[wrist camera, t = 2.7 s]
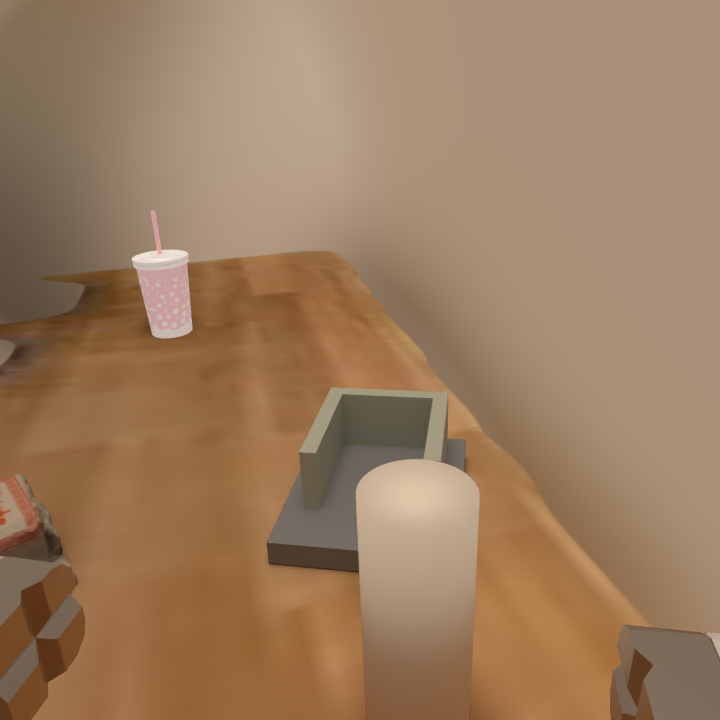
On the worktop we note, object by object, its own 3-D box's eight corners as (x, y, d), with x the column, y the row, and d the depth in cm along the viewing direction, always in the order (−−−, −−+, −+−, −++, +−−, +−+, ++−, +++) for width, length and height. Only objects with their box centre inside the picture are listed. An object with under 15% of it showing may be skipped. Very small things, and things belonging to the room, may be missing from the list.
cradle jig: (465, 457, 47) (467, 390, 45) (459, 581, 35) (461, 498, 33) (320, 448, 49) (315, 383, 47) (269, 563, 37) (259, 483, 35)
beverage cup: (147, 325, 77) (127, 208, 72) (199, 320, 78) (183, 204, 73) (142, 343, 72) (119, 217, 66) (198, 337, 73) (180, 213, 67)
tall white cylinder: (469, 687, 29) (479, 462, 24) (468, 783, 25) (479, 536, 20) (374, 676, 30) (366, 455, 25) (358, 767, 26) (344, 525, 21)
